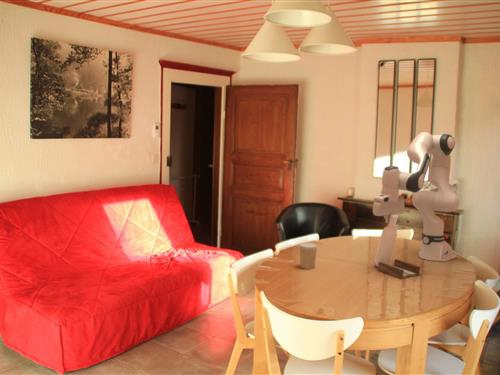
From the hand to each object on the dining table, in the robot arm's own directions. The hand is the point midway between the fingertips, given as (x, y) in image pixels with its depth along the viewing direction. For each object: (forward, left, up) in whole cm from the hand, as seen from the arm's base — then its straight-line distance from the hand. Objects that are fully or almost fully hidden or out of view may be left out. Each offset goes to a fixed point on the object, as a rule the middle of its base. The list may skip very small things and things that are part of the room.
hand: (388, 222), depth 271 cm
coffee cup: (+36, -22, -25) cm, 49 cm away
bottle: (0, -4, -24) cm, 25 cm away
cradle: (0, +9, -25) cm, 27 cm away
